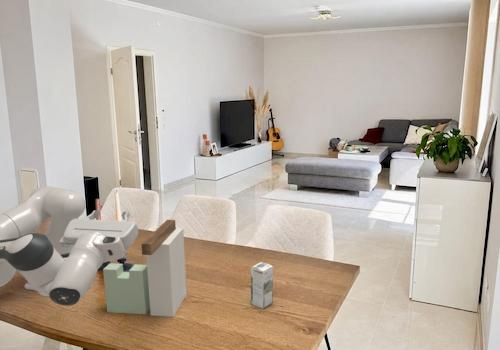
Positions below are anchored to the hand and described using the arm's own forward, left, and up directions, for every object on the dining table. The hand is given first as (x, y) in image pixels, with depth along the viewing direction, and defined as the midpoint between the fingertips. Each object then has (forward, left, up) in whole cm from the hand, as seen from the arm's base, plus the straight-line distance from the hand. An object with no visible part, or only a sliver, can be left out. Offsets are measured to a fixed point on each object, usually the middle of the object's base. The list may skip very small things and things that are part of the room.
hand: (112, 212), depth 124 cm
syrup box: (+41, +24, -41) cm, 63 cm away
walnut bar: (+8, +15, -14) cm, 23 cm away
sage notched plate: (-5, +15, -40) cm, 43 cm away
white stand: (+8, +20, -40) cm, 46 cm away
